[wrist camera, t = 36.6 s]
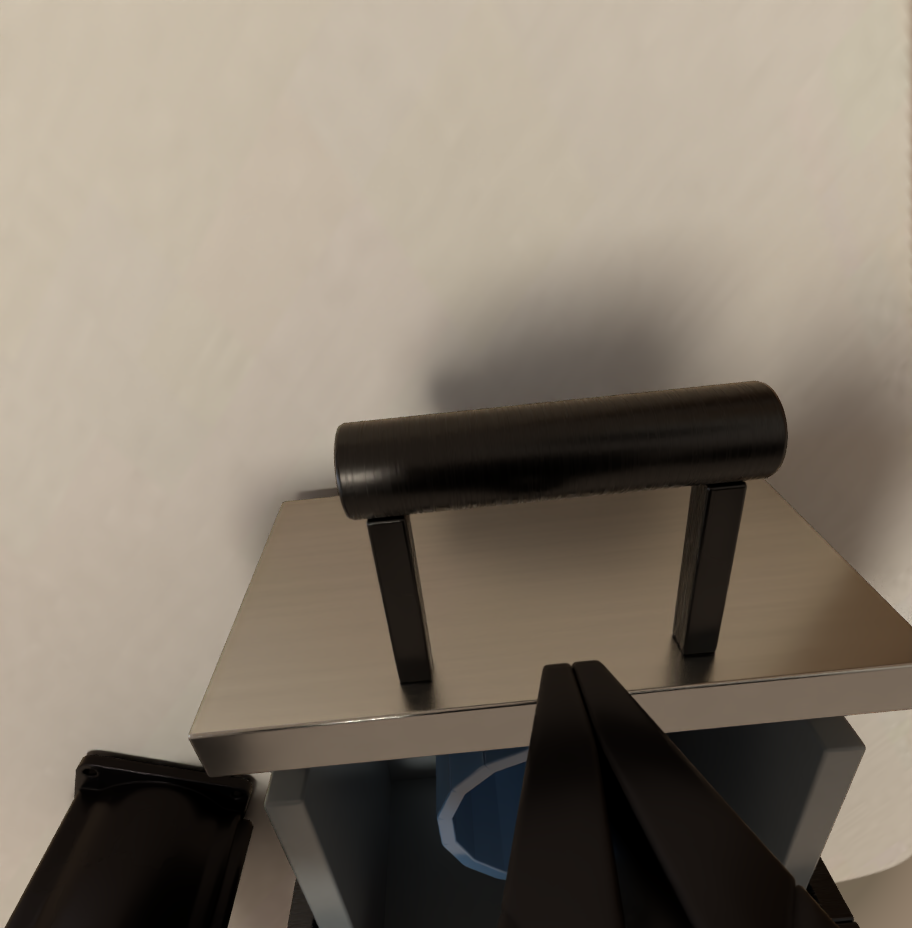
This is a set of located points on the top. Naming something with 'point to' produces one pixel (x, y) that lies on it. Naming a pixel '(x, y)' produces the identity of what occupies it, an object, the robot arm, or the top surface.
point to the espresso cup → (480, 806)
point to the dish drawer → (542, 632)
